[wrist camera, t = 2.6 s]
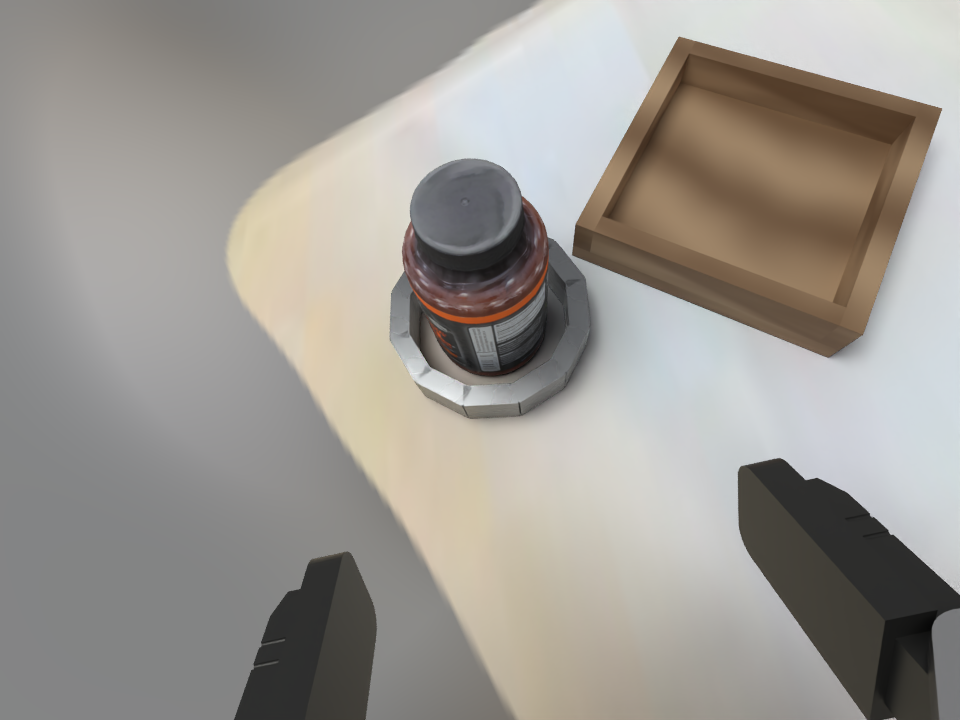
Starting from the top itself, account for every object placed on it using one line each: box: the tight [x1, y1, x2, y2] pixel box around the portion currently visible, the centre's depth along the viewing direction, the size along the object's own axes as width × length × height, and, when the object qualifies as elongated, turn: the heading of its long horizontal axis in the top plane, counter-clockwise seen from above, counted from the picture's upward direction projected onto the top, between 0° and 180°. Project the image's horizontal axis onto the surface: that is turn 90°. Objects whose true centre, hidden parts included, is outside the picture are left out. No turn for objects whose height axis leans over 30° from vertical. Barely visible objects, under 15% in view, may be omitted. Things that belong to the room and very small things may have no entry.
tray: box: [572, 37, 942, 357], centre depth 28 cm, size 14×14×3 cm
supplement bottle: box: [402, 159, 549, 376], centre depth 23 cm, size 6×6×11 cm
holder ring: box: [390, 237, 590, 418], centre depth 28 cm, size 10×10×2 cm
